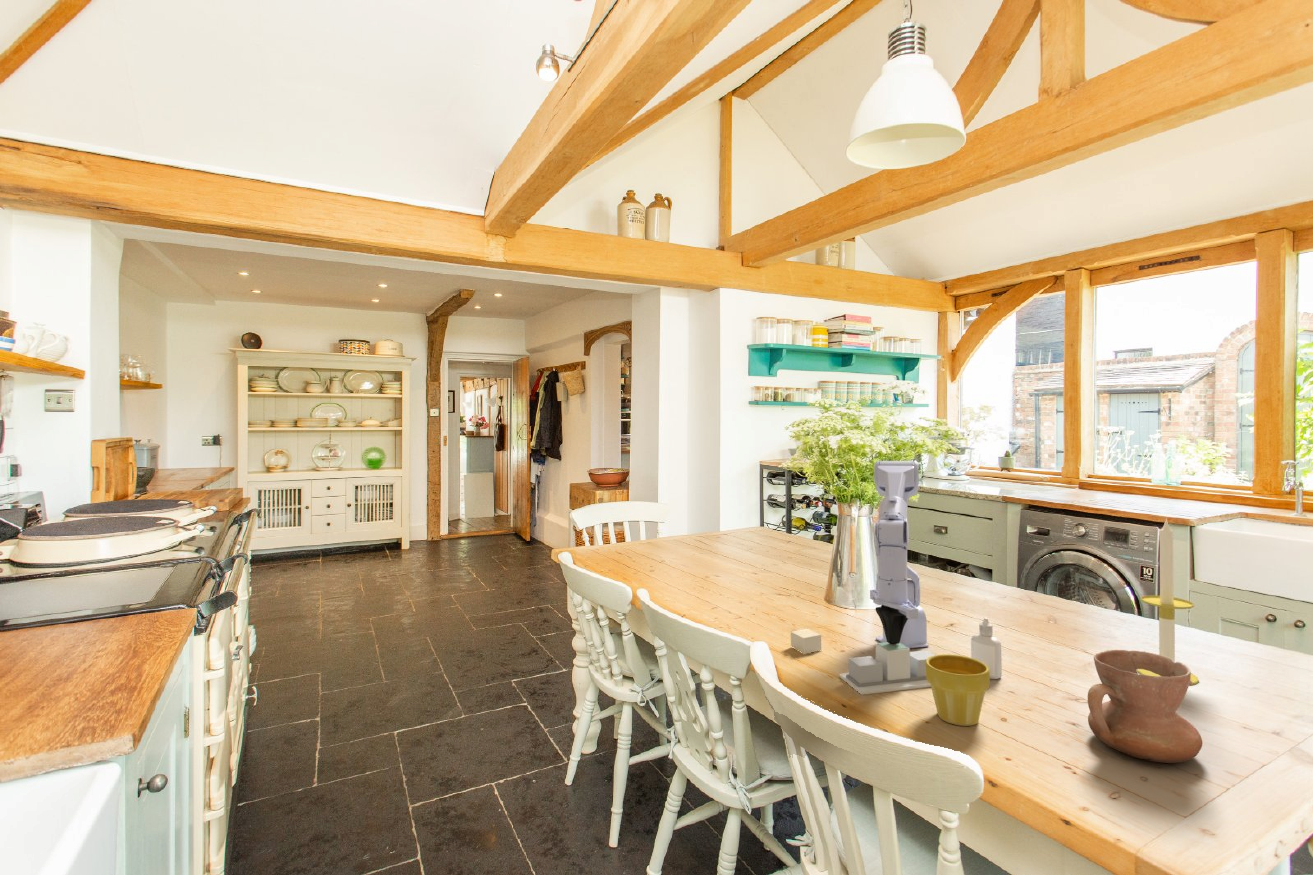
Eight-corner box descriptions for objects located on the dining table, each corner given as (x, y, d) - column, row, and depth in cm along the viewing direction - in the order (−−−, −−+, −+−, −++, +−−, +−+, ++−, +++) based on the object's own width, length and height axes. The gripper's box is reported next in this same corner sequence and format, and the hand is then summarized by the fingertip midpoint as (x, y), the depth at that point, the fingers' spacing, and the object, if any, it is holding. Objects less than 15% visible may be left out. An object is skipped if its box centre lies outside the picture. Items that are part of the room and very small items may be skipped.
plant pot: (935, 699, 119) (934, 649, 119) (995, 714, 113) (995, 661, 113) (919, 720, 111) (918, 666, 111) (982, 737, 105) (982, 680, 105)
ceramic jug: (1149, 722, 109) (1146, 642, 108) (1236, 767, 94) (1233, 674, 94) (1055, 733, 106) (1052, 651, 106) (1129, 780, 92) (1125, 685, 92)
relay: (808, 644, 150) (807, 628, 150) (821, 651, 146) (821, 634, 146) (791, 648, 148) (790, 631, 148) (803, 655, 144) (803, 638, 144)
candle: (1155, 662, 134) (1154, 513, 134) (1210, 680, 125) (1210, 519, 124) (1125, 670, 131) (1124, 516, 130) (1179, 689, 121) (1178, 523, 121)
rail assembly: (924, 667, 135) (924, 646, 135) (951, 684, 126) (951, 661, 126) (839, 676, 131) (838, 654, 131) (861, 694, 122) (860, 671, 122)
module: (897, 669, 131) (897, 640, 131) (910, 678, 127) (909, 648, 126) (876, 671, 130) (875, 642, 130) (887, 680, 126) (887, 650, 125)
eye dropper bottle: (983, 680, 127) (983, 622, 127) (968, 670, 133) (968, 614, 133) (1004, 679, 127) (1004, 622, 127) (988, 669, 133) (988, 613, 133)
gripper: (856, 571, 135) (857, 633, 135) (894, 588, 120) (895, 657, 121) (886, 568, 136) (887, 630, 136) (927, 585, 122) (928, 654, 122)
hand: (893, 642), depth 129 cm, fingers closed
